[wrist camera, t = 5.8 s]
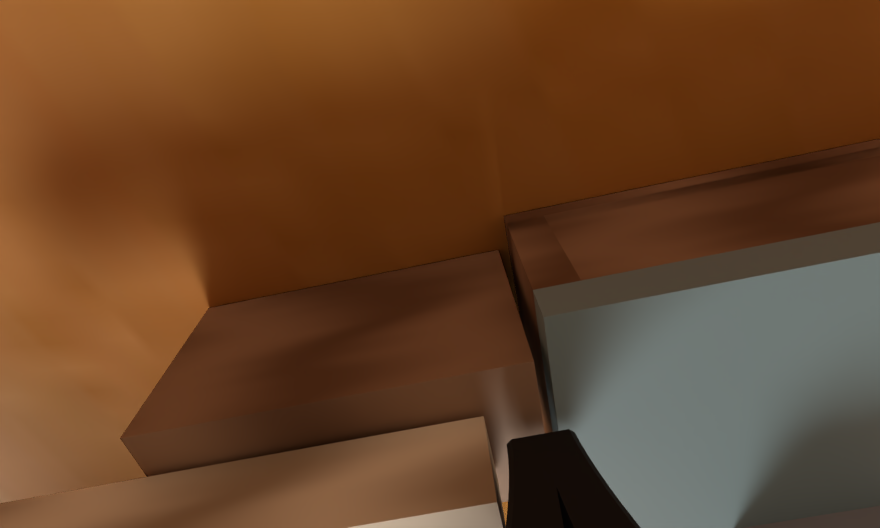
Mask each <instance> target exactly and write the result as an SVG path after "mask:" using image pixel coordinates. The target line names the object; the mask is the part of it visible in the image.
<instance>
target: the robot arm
mask: <svg viewBox="0 0 880 528" xmlns="http://www.w3.org/2000/svg"><path fill="white" fill-rule="evenodd" d="M506 445H507V452H508V464H509V493H508V511H507V521H506V528H641V527H640V526H639V525H638V524H637V522H636V521H635V520H634V519H633V517H632V516H631V515H630V513H629V512H628V511H627V510H626V508H625V507H624V506H623V505H622V503H621V502H620V501H619V499H618V498H617V496H616V495H615V494H614V492H613V491H612V490H611V488H610V487H609V485H608V484H607V483H606V481H605V480H604V478H603V477H602V475H601V474H600V473H599V471H598V470H597V468H596V467H595V465H594V464H593V462H592V461H591V459H590V458H589V456H588V454H587V453H586V451H585V449H584V448H583V446H582V444H581V443H580V441H579V439H578V437H577V435H576V434H575V432H573V431H572V430H570V429H566V430H560V431H555V432H549V433H544V434H538V435H532V436H527V437H521V438H515V439H511V440H510V441H509V442H508V443H507V444H506Z"/></svg>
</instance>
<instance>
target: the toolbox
mask: <svg viewBox="0 0 880 528" xmlns="http://www.w3.org/2000/svg"><path fill="white" fill-rule="evenodd" d="M504 221H505V228H506V234H507V240H508V247H509V253H510V259H511V266H512V272H513V278H514V284H515V291H516V297H517V303H518V310H519V313H518V310H517V307H516V304H515V300H514V297H513V294H512V291H511V288H510V285H509V282H508V279H507V275H506V272H505V269H504V266H503V263H502V260H501V257H500V254H499V251H498V250H496V251H491V252H486V253H481V254H476V255H471V256H466V257H461V258H456V259H451V260H446V261H441V262H436V263H431V264H426V265H421V266H416V267H411V268H406V269H401V270H396V271H391V272H386V273H381V274H376V275H371V276H366V277H362V278H357V279H352V280H347V281H342V282H337V283H332V284H327V285H322V286H317V287H312V288H307V289H302V290H297V291H292V292H287V293H282V294H277V295H272V296H267V297H262V298H257V299H252V300H247V301H242V302H237V303H232V304H227V305H222V306H217V307H212V308H208V310H207V311H206V313H205V314H204V316H203V317H202V319H201V320H200V322H199V323H198V325H197V326H196V328H195V329H194V330H193V332H192V333H191V335H190V336H189V338H188V339H187V341H186V342H185V344H184V345H183V347H182V348H181V350H180V351H179V353H178V354H177V355H176V357H175V358H174V360H173V361H172V363H171V364H170V366H169V367H168V369H167V370H166V372H165V373H164V375H163V376H162V378H161V379H160V380H159V382H158V383H157V385H156V386H155V388H154V389H153V391H152V392H151V394H150V395H149V397H148V398H147V400H146V401H145V403H144V404H143V405H142V407H141V408H140V410H139V411H138V413H137V414H136V416H135V417H134V419H133V420H132V422H131V423H130V425H129V426H128V428H127V429H126V430H125V432H124V433H123V435H122V436H121V438H120V439H121V440H122V442H123V443H124V445H125V446H126V447H127V449H128V450H129V452H130V453H131V454H132V456H133V457H134V459H135V460H136V462H137V463H138V464H139V466H140V467H141V469H142V470H143V472H144V473H145V474H146V476H147V477H149V476H155V475H160V474H166V473H171V472H177V471H183V470H188V469H194V468H199V467H205V466H210V465H216V464H221V463H227V462H232V461H238V460H243V459H249V458H254V457H260V456H265V455H271V454H276V453H282V452H287V451H293V450H298V449H304V448H310V447H315V446H321V445H326V444H332V443H337V442H343V441H348V440H354V439H359V438H365V437H370V436H376V435H381V434H387V433H392V432H398V431H403V430H409V429H414V428H420V427H426V426H431V425H437V424H442V423H448V422H453V421H459V420H464V419H470V418H475V417H481V416H484V420H485V424H486V429H487V433H488V438H489V442H490V447H491V451H492V456H493V460H494V465H495V469H496V474H497V478H498V483H499V489H500V495H501V501H502V502H506V501H508V493H509V464H508V452H507V445H506V444H507V443H508V442H509V441H510V440H511V439H515V438H521V437H527V436H532V435H538V434H544V433H549V432H553V431H552V423H551V416H550V409H549V402H548V395H547V388H546V381H545V373H544V366H543V359H542V352H541V345H540V338H539V330H538V323H537V316H536V309H535V302H534V295H533V290H536V289H541V288H546V287H551V286H556V285H561V284H566V283H571V282H576V281H582V280H587V279H592V278H597V277H602V276H607V275H612V274H617V273H623V272H628V271H633V270H638V269H643V268H648V267H653V266H658V265H663V264H669V263H674V262H679V261H684V260H689V259H694V258H699V257H704V256H709V255H715V254H720V253H725V252H730V251H735V250H740V249H745V248H750V247H755V246H761V245H766V244H771V243H776V242H781V241H786V240H791V239H796V238H801V237H807V236H812V235H817V234H822V233H827V232H832V231H837V230H842V229H847V228H853V227H858V226H863V225H868V224H873V223H878V222H880V139H877V140H872V141H867V142H862V143H858V144H853V145H848V146H843V147H838V148H833V149H828V150H823V151H818V152H814V153H809V154H804V155H799V156H794V157H789V158H784V159H779V160H775V161H770V162H765V163H760V164H755V165H750V166H745V167H740V168H736V169H731V170H726V171H721V172H716V173H711V174H706V175H701V176H697V177H692V178H687V179H682V180H677V181H672V182H667V183H662V184H658V185H653V186H648V187H643V188H638V189H633V190H628V191H623V192H619V193H614V194H609V195H604V196H599V197H594V198H589V199H584V200H580V201H575V202H570V203H565V204H560V205H555V206H550V207H545V208H541V209H536V210H531V211H526V212H521V213H516V214H511V215H506V216H504Z"/></svg>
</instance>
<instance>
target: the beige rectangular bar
mask: <svg viewBox="0 0 880 528" xmlns="http://www.w3.org/2000/svg"><path fill="white" fill-rule="evenodd" d="M0 528H506V525H505V519H504V513H503V507H502V501H501V495H500V489H499V483H498V478H497V474H496V469H495V465H494V460H493V456H492V451H491V447H490V442H489V438H488V433H487V429H486V424H485V420H484V416H481V417H475V418H470V419H464V420H459V421H453V422H448V423H442V424H437V425H431V426H426V427H420V428H414V429H409V430H403V431H398V432H392V433H387V434H381V435H376V436H370V437H365V438H359V439H354V440H348V441H343V442H337V443H332V444H326V445H321V446H315V447H310V448H304V449H298V450H293V451H287V452H282V453H276V454H271V455H265V456H260V457H254V458H249V459H243V460H238V461H232V462H227V463H221V464H216V465H210V466H205V467H199V468H194V469H188V470H183V471H177V472H171V473H166V474H160V475H155V476H149V477H144V478H138V479H133V480H127V481H122V482H116V483H111V484H105V485H100V486H94V487H89V488H83V489H78V490H72V491H67V492H61V493H55V494H50V495H44V496H39V497H33V498H28V499H22V500H17V501H11V502H6V503H0Z"/></svg>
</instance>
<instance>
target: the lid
mask: <svg viewBox="0 0 880 528" xmlns="http://www.w3.org/2000/svg"><path fill="white" fill-rule="evenodd" d="M533 295H534V302H535V309H536V316H537V323H538V330H539V338H540V345H541V352H542V359H543V366H544V373H545V381H546V388H547V395H548V402H549V409H550V416H551V423H552V431H553V432H555V431H560V430H566V429H570V430H572V431H573V432H575V434H576V435H577V437H578V439H579V441H580V443H581V444H582V446H583V448H584V449H585V451H586V453H587V454H588V456H589V458H590V459H591V461H592V462H593V464H594V465H595V467H596V468H597V470H598V471H599V473H600V474H601V475H602V477H603V478H604V480H605V481H606V483H607V484H608V485H609V487H610V488H611V490H612V491H613V492H614V494H615V495H616V496H617V498H618V499H619V501H620V502H621V503H622V505H623V506H624V507H625V508H626V510H627V511H628V512H629V513H630V515H631V516H632V517H633V519H634V520H635V521H636V522H637V524H638V525H639V526H640V527H641V528H880V222H878V223H873V224H868V225H863V226H858V227H853V228H847V229H842V230H837V231H832V232H827V233H822V234H817V235H812V236H807V237H801V238H796V239H791V240H786V241H781V242H776V243H771V244H766V245H761V246H755V247H750V248H745V249H740V250H735V251H730V252H725V253H720V254H715V255H709V256H704V257H699V258H694V259H689V260H684V261H679V262H674V263H669V264H663V265H658V266H653V267H648V268H643V269H638V270H633V271H628V272H623V273H617V274H612V275H607V276H602V277H597V278H592V279H587V280H582V281H576V282H571V283H566V284H561V285H556V286H551V287H546V288H541V289H536V290H533Z"/></svg>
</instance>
